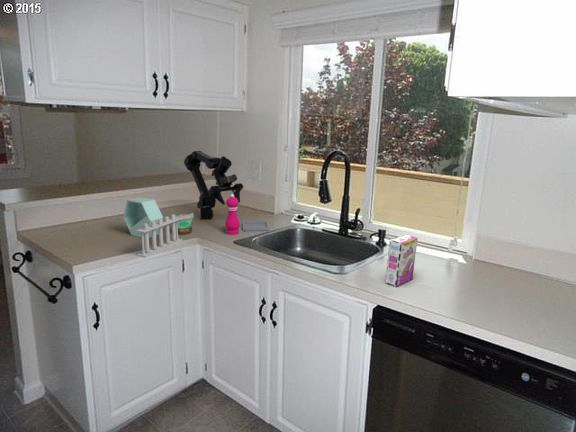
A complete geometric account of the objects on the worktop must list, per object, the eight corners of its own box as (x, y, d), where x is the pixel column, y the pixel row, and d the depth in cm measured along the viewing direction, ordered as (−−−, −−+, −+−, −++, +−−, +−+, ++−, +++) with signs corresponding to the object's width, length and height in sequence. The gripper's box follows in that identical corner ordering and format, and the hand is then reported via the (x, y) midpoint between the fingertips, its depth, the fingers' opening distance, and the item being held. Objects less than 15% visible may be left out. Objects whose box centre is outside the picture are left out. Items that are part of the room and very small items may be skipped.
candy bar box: (396, 287, 137) (401, 243, 133) (384, 283, 141) (388, 239, 137) (413, 279, 145) (418, 237, 141) (401, 275, 148) (405, 234, 144)
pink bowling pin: (242, 232, 199) (242, 193, 194) (234, 236, 192) (234, 196, 187) (230, 230, 202) (230, 192, 197) (222, 234, 195) (221, 194, 190)
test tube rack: (145, 257, 160) (143, 226, 157) (137, 256, 162) (134, 225, 159) (183, 241, 183) (182, 213, 180) (175, 239, 185) (174, 212, 181)
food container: (176, 237, 188) (175, 216, 186) (170, 234, 193) (169, 214, 190) (199, 232, 196) (198, 213, 194) (193, 230, 201) (192, 211, 198)
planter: (136, 245, 189) (117, 207, 190) (149, 241, 196) (131, 204, 197) (155, 231, 180) (136, 191, 181) (168, 227, 186) (149, 189, 188)
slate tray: (242, 231, 201) (242, 227, 200) (242, 224, 213) (242, 221, 213) (268, 231, 202) (268, 227, 202) (267, 224, 215) (267, 221, 214)
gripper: (210, 170, 195) (222, 196, 190) (242, 168, 207) (253, 192, 202) (202, 183, 203) (213, 208, 198) (233, 180, 214) (244, 204, 210)
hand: (231, 203), depth 202 cm, fingers open, 9 cm apart
